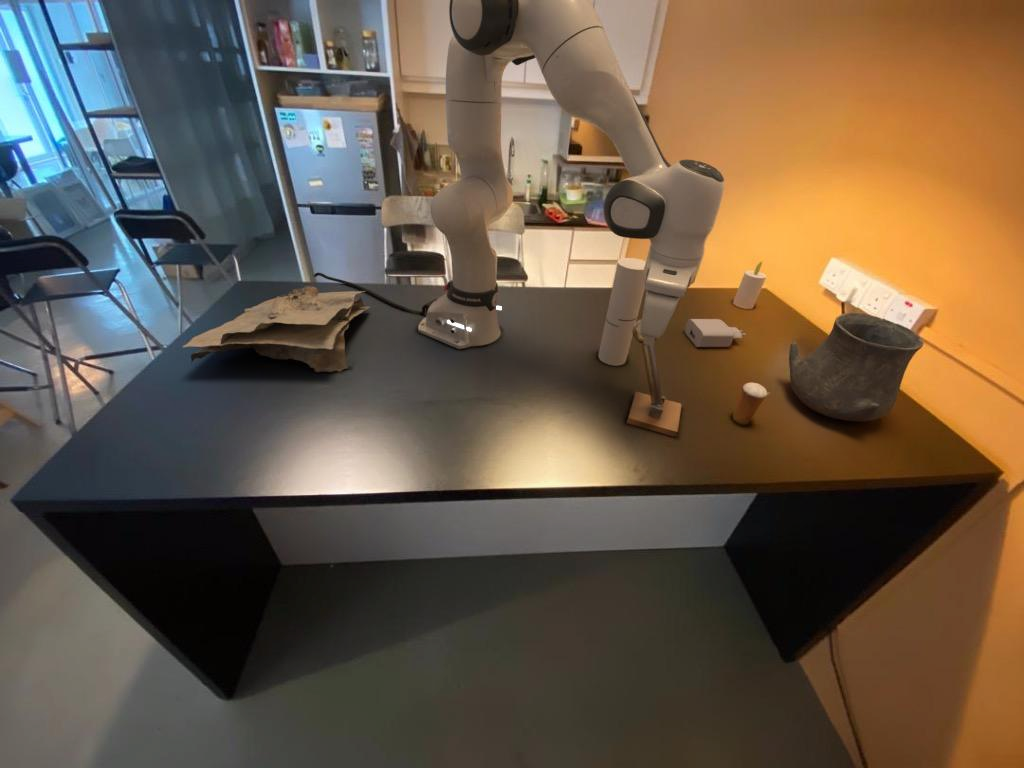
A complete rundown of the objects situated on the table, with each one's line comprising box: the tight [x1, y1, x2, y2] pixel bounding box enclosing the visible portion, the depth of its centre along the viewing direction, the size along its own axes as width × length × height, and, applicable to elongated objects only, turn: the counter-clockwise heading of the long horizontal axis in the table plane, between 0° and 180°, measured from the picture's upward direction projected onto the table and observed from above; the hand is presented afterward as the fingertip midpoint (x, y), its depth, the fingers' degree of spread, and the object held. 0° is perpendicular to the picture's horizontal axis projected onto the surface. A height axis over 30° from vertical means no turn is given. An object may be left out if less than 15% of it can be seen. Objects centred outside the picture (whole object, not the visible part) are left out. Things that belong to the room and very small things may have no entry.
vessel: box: [788, 312, 925, 422], centre depth 92 cm, size 22×22×20 cm
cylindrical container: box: [597, 257, 646, 366], centre depth 102 cm, size 7×7×25 cm
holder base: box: [626, 391, 682, 438], centre depth 90 cm, size 10×10×4 cm
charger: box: [684, 318, 747, 348], centre depth 118 cm, size 5×9×15 cm
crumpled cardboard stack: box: [182, 285, 370, 373], centre depth 105 cm, size 35×16×32 cm
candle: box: [732, 260, 767, 310], centre depth 136 cm, size 6×6×15 cm
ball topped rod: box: [632, 318, 663, 408], centre depth 85 cm, size 21×5×5 cm
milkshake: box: [732, 381, 776, 425], centre depth 89 cm, size 4×5×10 cm
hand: (650, 335), depth 82 cm, fingers closed on ball topped rod, 5 cm apart
